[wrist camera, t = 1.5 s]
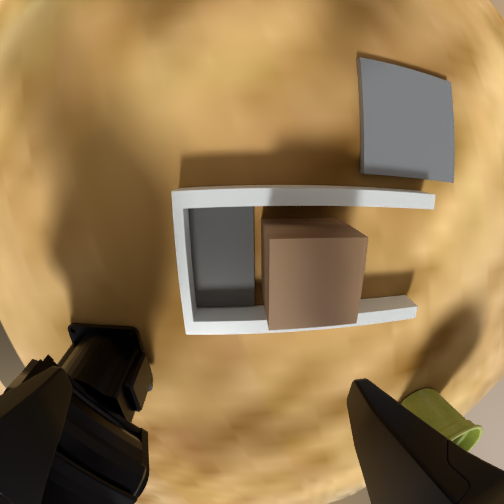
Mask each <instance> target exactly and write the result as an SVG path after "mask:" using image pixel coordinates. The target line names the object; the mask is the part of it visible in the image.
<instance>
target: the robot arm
mask: <svg viewBox="0 0 504 504" xmlns="http://www.w3.org/2000/svg"><path fill="white" fill-rule="evenodd" d="M73 329H74V330H73ZM68 332H69V334H70V337H71V340H72V343H73V344H72V345H71V346H70V348H69V349H68V350H67V352H66V353H65V354H64V356H63V357H62V359H61V360H60V361H59V363H58V364H56V363H55V362H54V360H53V359H52V358H51V357H50V356H49V355H47V357H46V358H45V359H44V360H43V361H42V360H41V359H40V360H39V361H37V360H34V359H32V360H31V361H30V363H29V364H28V365H27V366H26V368H25V369H24V370H23V371H22V373H21V374H20V375H19V376H18V377H17V378H16V379H15V380H14V381H13V382H12V383H11V384H10V385H9V386H8V387H7V389H6V390H5V391H4V393H3V394H2V395H0V504H134V503H135V502H136V501H137V498H138V497H139V496H140V495H141V493H142V492H143V490H144V488H145V486H146V484H147V481H148V477H149V454H148V432H147V431H146V430H144V429H142V428H139V427H137V426H136V425H134V424H133V423H131V422H132V419H133V416H134V413H135V411H138V412H139V411H141V410H142V407H143V404H144V401H145V398H146V395H147V392H148V391H151V390H152V387H153V384H152V381H151V380H152V373H151V369H150V366H149V362H148V358H147V354H146V353H145V352H144V351H143V348H142V344H141V340H140V336H139V332H138V330H137V329H136V328H134V327H126V326H108V325H93V324H80V323H71V324H70V325H69V326H68ZM130 332H131V333H133V334H134V335H132V334H130ZM347 408H348V413H349V418H350V424H351V430H352V435H353V441H354V446H355V450H356V453H357V456H358V460H359V463H360V466H361V470H362V473H363V477H364V480H365V483H366V487H367V490H368V494H369V497H370V501H371V504H504V471H503V470H501V469H499V468H497V467H495V466H493V465H491V464H489V463H487V462H485V461H483V460H481V459H480V458H478V457H476V456H474V455H473V454H471V453H469V452H468V451H466V450H464V449H463V448H461V447H460V446H458V445H457V444H455V443H454V442H453V441H451V440H450V439H447V437H445V436H444V435H443V434H441V433H440V432H438V431H437V430H436V429H434V428H433V427H431V426H430V425H429V424H427V423H426V422H425V421H423V420H422V419H420V418H419V417H418V416H416V415H415V414H414V413H412V412H411V411H409V410H408V409H407V408H405V407H404V406H403V405H401V404H400V403H399V402H397V401H396V400H395V399H393V398H392V397H391V396H389V395H388V394H387V393H385V392H384V391H383V390H381V389H380V388H379V387H377V386H376V385H375V384H373V383H372V382H371V381H369V380H368V379H365V378H364V379H357V380H354V381H353V382H352V384H351V388H350V391H349V394H348V397H347Z"/></svg>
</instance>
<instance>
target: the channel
mask: <svg viewBox="0 0 504 504" xmlns="http://www.w3.org/2000/svg"><path fill="white" fill-rule="evenodd" d="M171 193H172V209H173V223H174V235H175V247H176V257H177V267H178V276H179V285H180V293H181V301H182V309H183V316H184V323H185V330H186V335H213V334H254V333H276V332H293V331H307V330H319V329H330V328H341V327H350V326H359V325H368V324H376V323H383V322H391V321H398V320H404V319H411V318H415V316H416V312H417V308H418V306H417V305H416V304H415V303H414V302H413V301H412V300H411V299H409V298H408V297H407V296H406V295H399V296H390V297H379V298H369V299H360V305H359V312H358V317H357V323H355V324H346V325H336V326H325V327H313V328H300V329H285V330H269V329H268V324H267V318H266V313H265V307H264V305H259V306H245V305H255V297H254V213H253V206H365V207H396V208H418V209H434V205H435V194H431V193H427V192H423V191H418V190H405V189H391V188H375V187H356V186H327V185H236V186H207V187H187V188H177V189H175V190H173V191H171ZM197 306H225V307H197Z"/></svg>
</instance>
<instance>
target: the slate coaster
mask: <svg viewBox="0 0 504 504" xmlns="http://www.w3.org/2000/svg"><path fill="white" fill-rule="evenodd" d="M357 70H358V84H359V103H360V173H362V174H375V175H388V176H399V177H409V178H418V179H427V180H436V181H443V182H451V183H453V181H454V115H453V101H452V90H451V82H449V81H446V80H443V79H440V78H438V77H435V76H432V75H429V74H425V73H422V72H419V71H416V70H412V69H409V68H405V67H401V66H398V65H394V64H390V63H386V62H381V61H377V60H372V59H367V58H362V57H359V58H358V59H357Z"/></svg>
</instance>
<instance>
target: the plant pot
mask: <svg viewBox="0 0 504 504" xmlns="http://www.w3.org/2000/svg"><path fill="white" fill-rule="evenodd" d="M401 405H403V406H404V407H405V408H407V409H408V410H409V411H411V412H412V413H414V414H415V415H416V416H418V417H419V418H420V419H422V420H423V421H425V422H426V423H427V424H429V425H430V426H431V427H433V428H434V429H436V430H437V431H438V432H440V433H441V434H443V435H444V436H445V437H447V439H450V440H451V441H453V442H454V443H455V444H457V445H458V446H460V447H461V448H463V449H464V450H466V451H468V452H469V451H470V450H471V449H472V448H473V447H474V445H475V444H476V443H477V441H478V440H479V439H480V437H481V435H482V433H483V428H482V427H481V426H480V425H475V424H473V423H472V422H471V421H469V420H466V419H465V418H464V417H463V416H462V415H461V414H460V413H459V412H458V411H457V410H455V409H454V408H453V407H452V406H451V405H450V404H449V403H448V402H447V401H446V400H445V399H444V398H443V397H442V396H441V395H440V394H439V393H438V392H437V391H436V390H434V389H429V388H424V389H421V390H418V391H416V392H414V393H413V394H411V395H409V396H408V397H407V398H405V399H404V400H403V401H402V403H401Z"/></svg>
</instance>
